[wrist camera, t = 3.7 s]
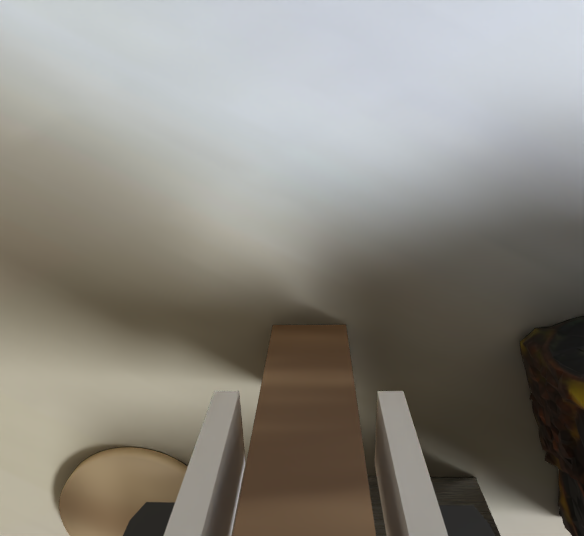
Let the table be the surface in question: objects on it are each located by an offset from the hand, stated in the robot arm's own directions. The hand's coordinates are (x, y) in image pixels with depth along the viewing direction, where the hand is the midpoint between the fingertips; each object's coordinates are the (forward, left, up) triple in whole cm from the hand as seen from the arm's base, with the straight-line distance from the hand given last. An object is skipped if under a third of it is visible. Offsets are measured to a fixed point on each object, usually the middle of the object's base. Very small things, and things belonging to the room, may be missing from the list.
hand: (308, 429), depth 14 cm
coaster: (+8, -8, -4) cm, 12 cm away
